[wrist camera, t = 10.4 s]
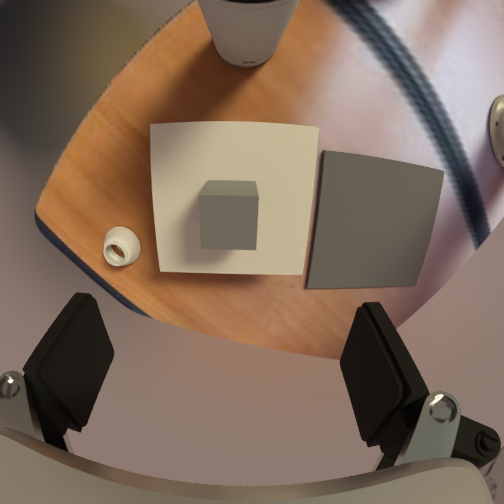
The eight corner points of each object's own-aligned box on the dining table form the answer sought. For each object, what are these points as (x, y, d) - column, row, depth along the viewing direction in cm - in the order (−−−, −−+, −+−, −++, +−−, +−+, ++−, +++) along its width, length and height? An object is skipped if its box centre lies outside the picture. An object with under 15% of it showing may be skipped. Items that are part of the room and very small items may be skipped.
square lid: (316, 127, 22) (338, 129, 16) (300, 270, 28) (313, 305, 23) (153, 124, 21) (127, 125, 16) (162, 267, 27) (146, 301, 22)
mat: (441, 170, 28) (444, 171, 28) (413, 283, 36) (415, 285, 35) (323, 150, 28) (324, 150, 27) (306, 285, 35) (307, 288, 35)
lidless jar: (148, 254, 33) (129, 219, 31) (141, 265, 30) (119, 228, 28) (118, 266, 33) (99, 234, 31) (110, 278, 31) (89, 244, 29)
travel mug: (261, 79, 24) (298, 0, 6) (204, 53, 23) (141, -45, 5) (290, 35, 22) (361, -70, 4) (234, 10, 20) (225, -114, 2)
